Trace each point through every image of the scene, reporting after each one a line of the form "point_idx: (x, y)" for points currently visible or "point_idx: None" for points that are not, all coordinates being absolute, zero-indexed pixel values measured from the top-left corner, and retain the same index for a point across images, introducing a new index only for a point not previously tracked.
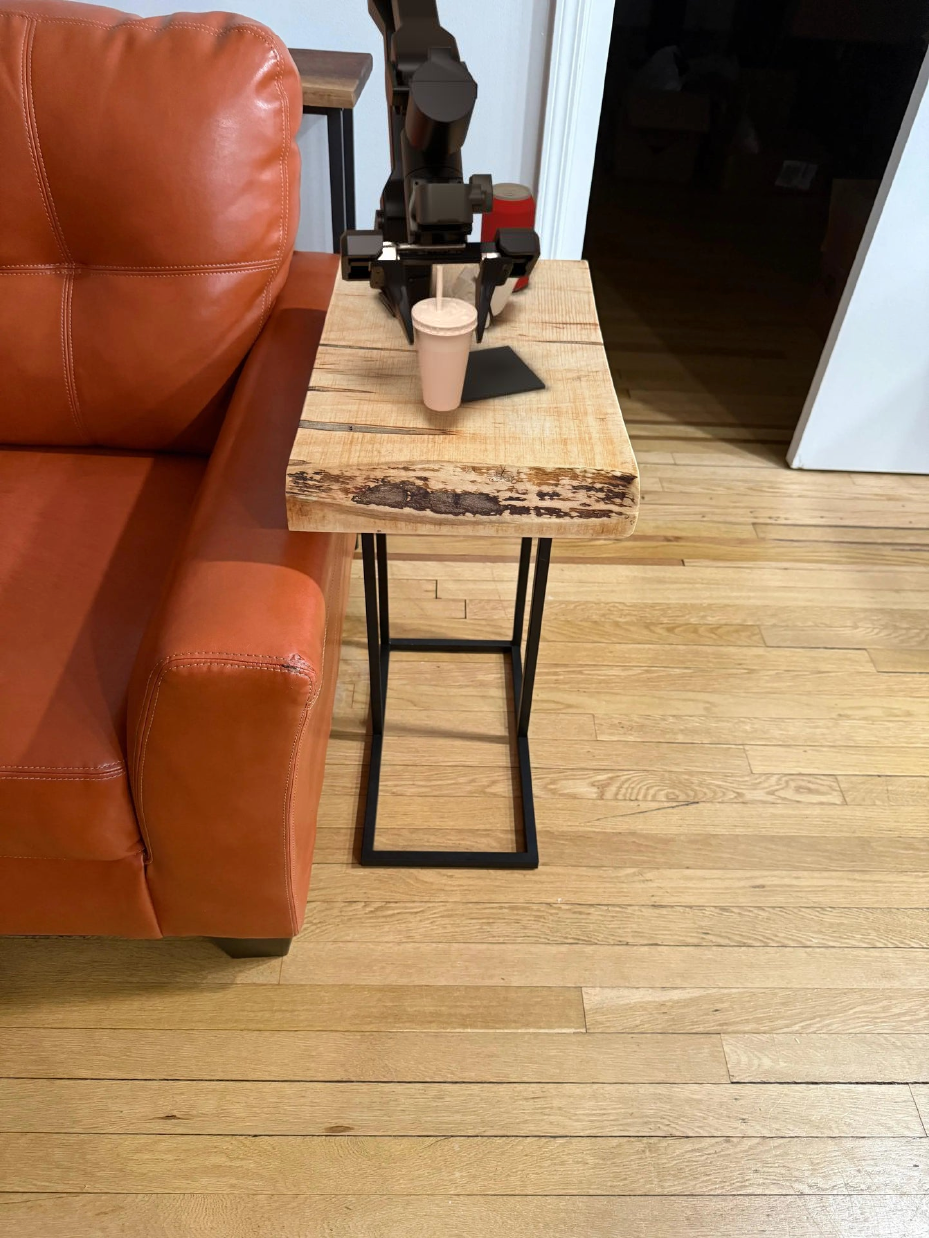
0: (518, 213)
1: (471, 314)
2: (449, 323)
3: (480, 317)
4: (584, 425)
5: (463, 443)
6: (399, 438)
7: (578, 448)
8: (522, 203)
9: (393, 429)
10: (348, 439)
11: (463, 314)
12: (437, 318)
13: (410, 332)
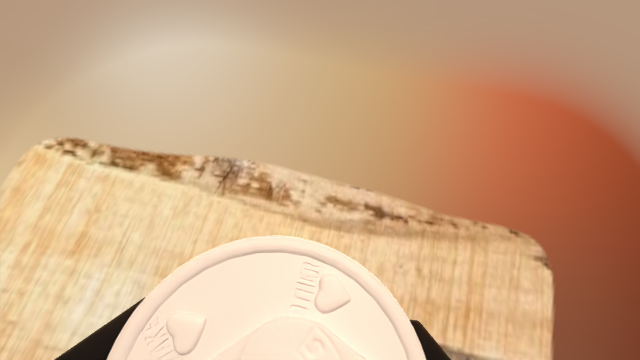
0: None
1: (140, 353)
2: (275, 269)
3: (102, 350)
4: (6, 296)
5: None
6: None
7: (66, 219)
8: None
9: None
10: (472, 325)
11: (182, 348)
12: (320, 323)
13: (423, 340)
